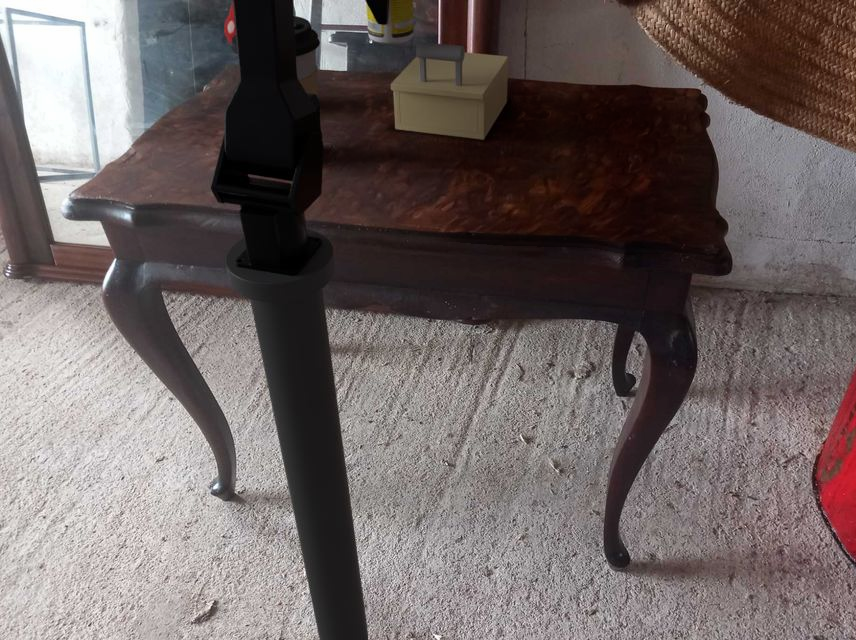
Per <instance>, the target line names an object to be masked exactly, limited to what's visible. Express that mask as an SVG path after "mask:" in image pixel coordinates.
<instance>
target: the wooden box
mask: <svg viewBox="0 0 856 640" xmlns="http://www.w3.org/2000/svg"><path fill="white" fill-rule="evenodd" d="M508 79H509V62H508V63H507V65H506V66H505V68H504V69H503V71H502V72H501V74H500V75H499V77H498V78H497V80H496V81H495V83H494V84H493V86H492V87H491V89H490V90H489V92H488V93H487V95H486V96H485V98H484V99H483V100H476V99H467V98H458V97H449V96H440V95H431V94H421V93H412V92H403V91H394V90H392V92H393V109H394V129H395V130H399V131H407V132H416V133H424V134H433V135H440V136H449V137H457V138H465V139H466V138H467V139H475V140H481V141H482V140H483V141H484V140H485V138H486V137H487V135H488V134H489V132H490V130H491V129H492V127H493V125H494V124H495V122H496V121H497V119H498V117H499V116H500V114H501V113H502V111H503V109H504V107H505V106H506V104H507V102H508V83H509V82H508Z"/></svg>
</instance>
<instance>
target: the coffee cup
mask: <svg viewBox="0 0 856 640" xmlns="http://www.w3.org/2000/svg"><path fill="white" fill-rule="evenodd" d="M294 30H295V48H296V66H297V77H298V80H299V82H300V83H301V85H302V86H303V88H304V90H305V91H306V93H310V94H316V95H317V97H318V98H319V83H318V77H319V75H318V73H319V72H318V66H317V51H316V50H317V49H318V47H320V44H321V41H320V39H319V34H318V32H317V31H316V30H314V29H313V28H312V25H311V22H310V21H309V20H308V19H306V18H304V17H301V16H297V15H294ZM230 47H231V51H232V52H233V53H235V54H236V55H238V52H237V41H236V34H235V35H234V36H233V38H232V44H231V46H230Z"/></svg>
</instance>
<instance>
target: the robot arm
mask: <svg viewBox="0 0 856 640" xmlns="http://www.w3.org/2000/svg"><path fill="white" fill-rule="evenodd" d="M364 1H365V4H366V3H367V5H368V7H369V8H370V10H371V12H372V14H373V16H374V18H375V20H376V22H377V23H378V24H380V25H386V24H387V23H388V14H389V1H390V0H364ZM232 3H233V8H234V19H235V30H236V41H237V52H238V54H237V60H238V62H237V63H238V72H239V73H238V75H239V81H238V83H237V85H236V87H235V88H234V91H233V92H232V94H231V97H230V99H229V101H228V103H227V104H226V107H225V109H224V132H223V133H224V134H223V137H222V141H221V144H220V149H219V153H218V156H217V160H216V165H215V169H214V172H213V175H212V180H211V184H210V190H211V192H212V194H213V196H214V198H215V199H216V202H217V203H219V204H229V205H234V206H235V205H236V206H239V208H240V209H239V210H238V213H239V216H240V217H239V218H240V222H241V228H242V234H243V238H244V239H245V244H246V249H245V250H244V251H243V253H242V254H241V255H240V256H239V257H238V258H237V259H236V260H235V264H236V266H237V267H241V268H247V269H253V270H259V271H265V272H271V273H277V274H283V275H289V276H296V275H298V274H299V272H300V271H301V270H302V269H303V267H304V266H305V265H306V264H307V262H308V261H309V260H310V259H311V257H312V256H313V255H314V254H315V252H316V251H317V250H318V249H319V247H320V246H321V245H322V239H321V238H317V237H310V236H307V229H308V228H307V221H306V215H305V212H306V211H307V210H308V209H309V208H310V207H311V206H312V205H313V204H314V203H315V202H316V201H317V200H318V199H319V198H320V196H321V195H322V192H323V191H322V190H323V189H322V188H323V169H324V140H323V139H324V137H323V132H322V128H321V127H322V126H321V102H320V99H319V96H318V97H317V95H316V94H310V93H306V91H305V90H304V88H303V86H302V85H301V83H300V82H299V80H298V77H297V66H296V48H295V30H294V16H295V15H294V13H295V12H294V0H232ZM249 175H250V176H249ZM253 176H256V177H253ZM259 177H263V178H259ZM266 178H268V179H266ZM269 178H270V179H269ZM273 179H276V180H273ZM278 180H282V181H278ZM285 181H289V182H285ZM290 182H292V183H290Z"/></svg>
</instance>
